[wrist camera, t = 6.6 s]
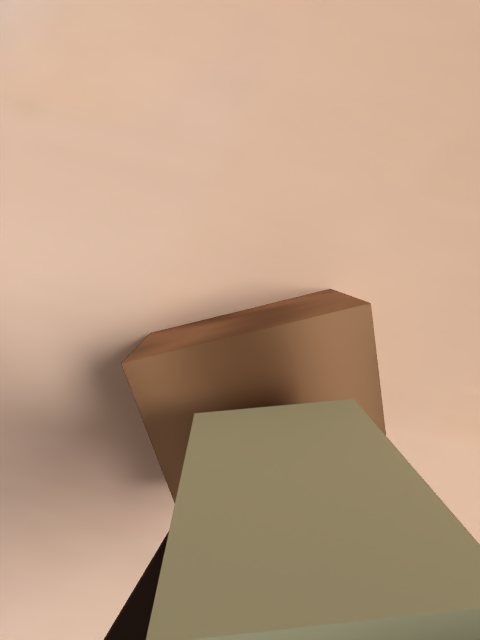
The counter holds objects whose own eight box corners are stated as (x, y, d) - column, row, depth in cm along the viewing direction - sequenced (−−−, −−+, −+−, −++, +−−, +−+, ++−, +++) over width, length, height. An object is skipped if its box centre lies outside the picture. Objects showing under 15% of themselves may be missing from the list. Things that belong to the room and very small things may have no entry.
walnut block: (201, 473, 15) (191, 547, 12) (152, 330, 13) (121, 363, 9) (352, 439, 15) (393, 502, 11) (328, 288, 13) (370, 303, 9)
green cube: (210, 536, 9) (191, 837, 5) (194, 413, 8) (145, 644, 3) (349, 522, 10) (475, 801, 5) (353, 399, 8) (530, 603, 3)
